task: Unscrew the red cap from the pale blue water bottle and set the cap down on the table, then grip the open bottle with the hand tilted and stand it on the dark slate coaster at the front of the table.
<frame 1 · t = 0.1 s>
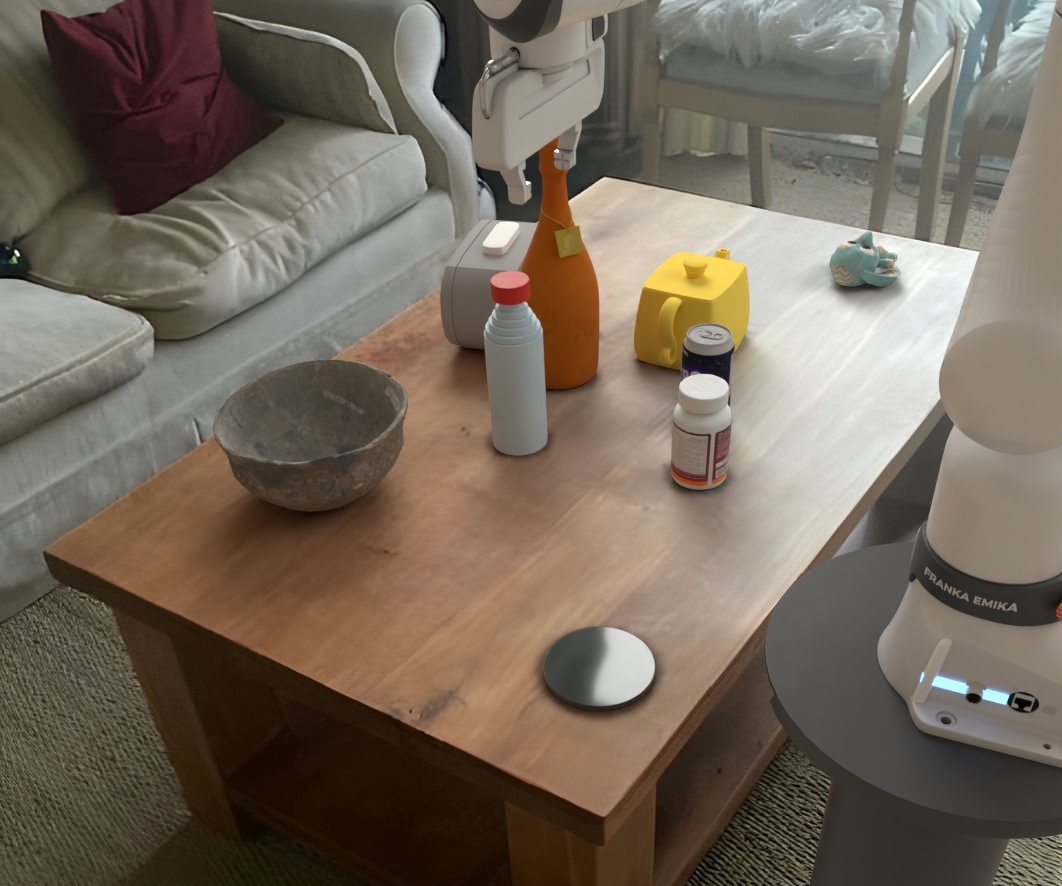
hand: (543, 184, 109), 29 cm above the table, tool pointing down, fingers open, 8 cm apart
wine bottle: (560, 374, 138), on the table
teapot: (694, 344, 143), on the table
pill bottle: (698, 477, 120), on the table
coaster: (599, 669, 99), on the table
beverage can: (703, 427, 128), on the table
bottle: (520, 440, 127), on the table
cap: (510, 282, 114), point 20 cm above the table, screwed on, not yet turned
bowl: (326, 485, 123), on the table
alarm clock: (503, 330, 148), on the table
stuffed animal: (862, 278, 154), on the table
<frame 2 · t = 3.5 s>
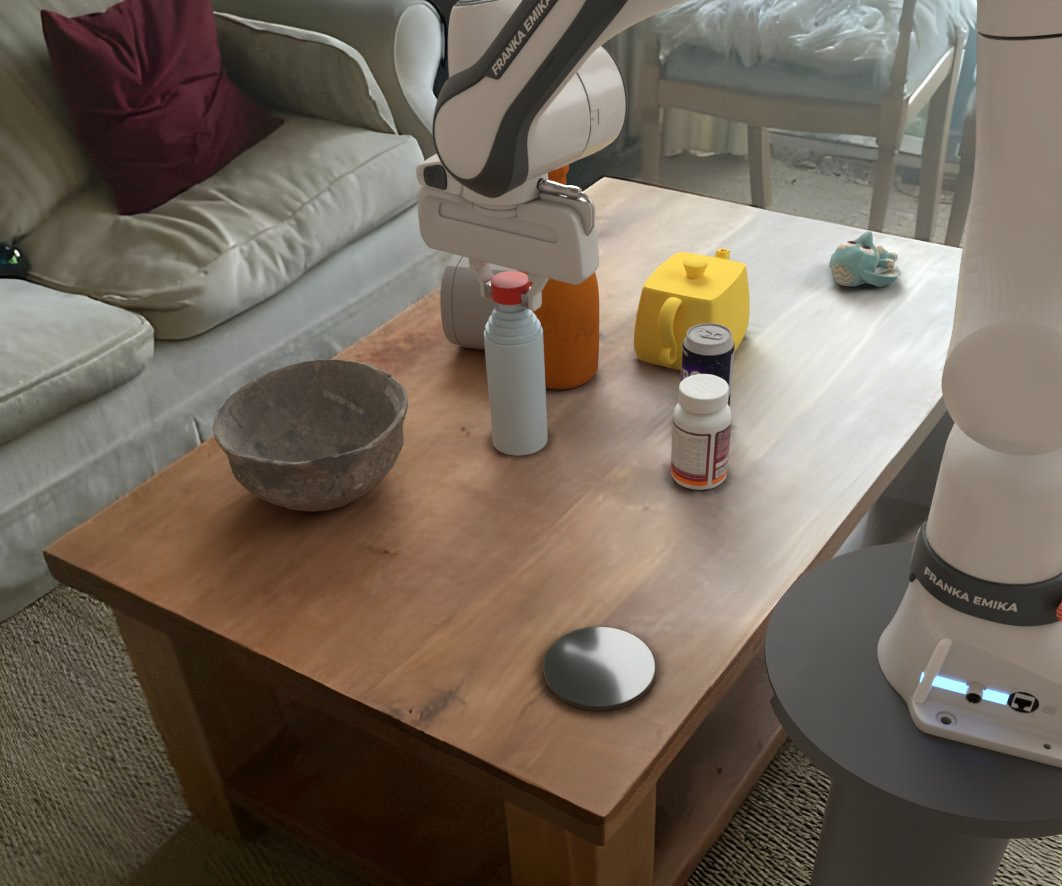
hand: (511, 301, 116), 17 cm above the table, tool pointing down, fingers closed on cap, 4 cm apart
cap: (510, 282, 114), point 20 cm above the table, screwed on, not yet turned, touching gripper
everything else where it was.
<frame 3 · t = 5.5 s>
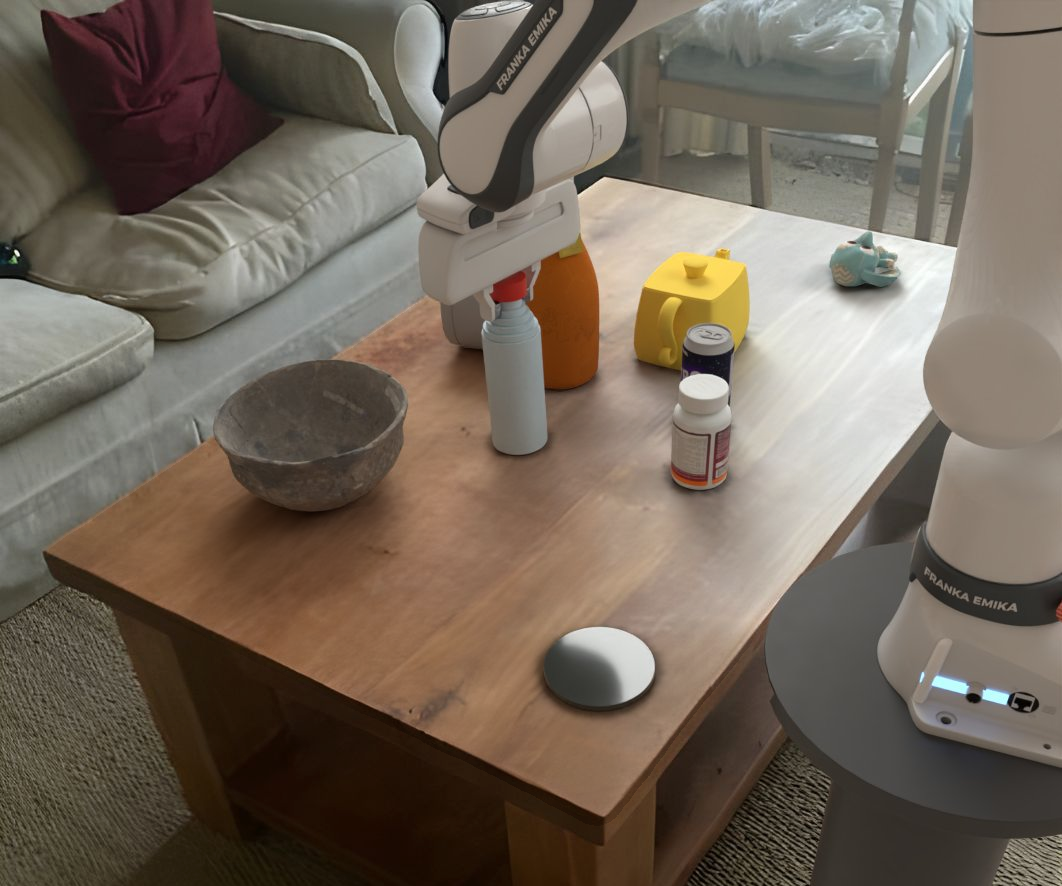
hand: (506, 309, 117), 16 cm above the table, tool pointing down, fingers closed on bottle, 3 cm apart
bottle: (520, 439, 127), on the table, touching gripper
cap: (506, 279, 114), point 20 cm above the table, turned 80° so far, risen 0.1 cm, still on its thread
everything else where it was.
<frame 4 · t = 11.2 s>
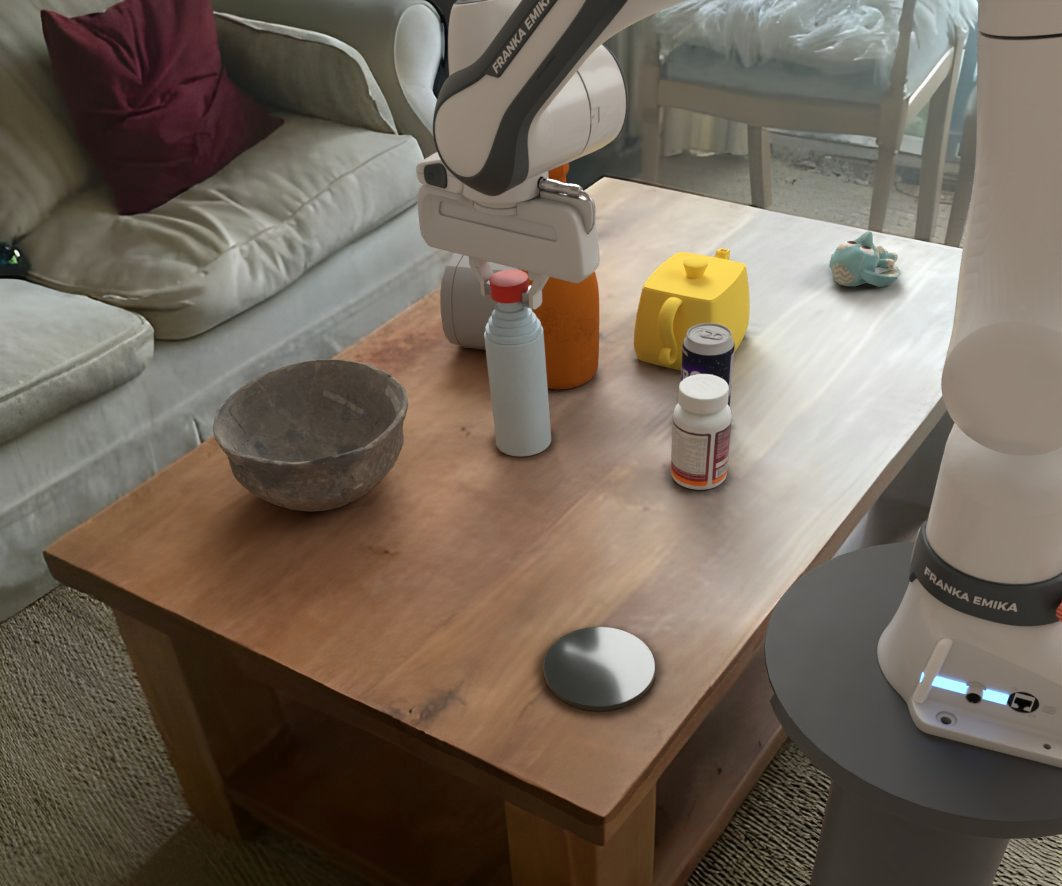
hand: (511, 300, 116), 18 cm above the table, tool pointing down, fingers closed on cap, 4 cm apart
bottle: (523, 441, 127), on the table
cap: (508, 280, 114), point 20 cm above the table, turned 160° so far, risen 0.2 cm, still on its thread, touching gripper
everything else where it was.
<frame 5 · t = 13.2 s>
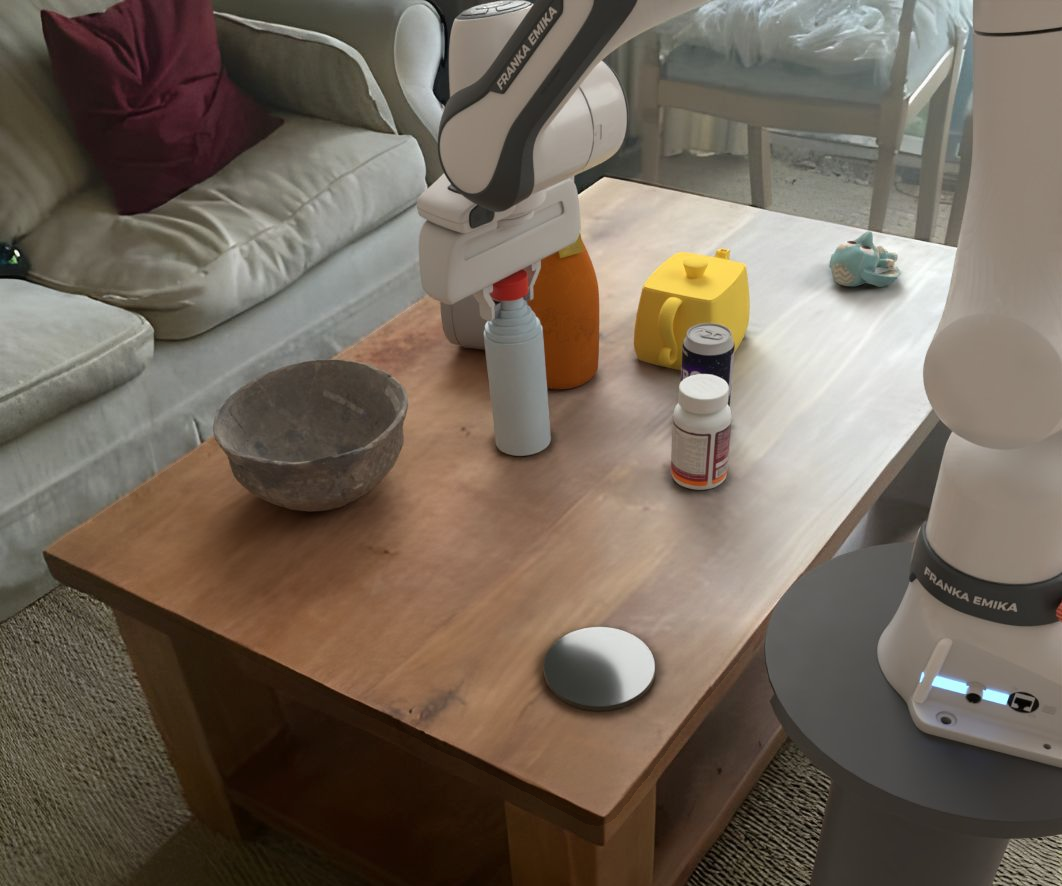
hand: (507, 309, 117), 16 cm above the table, tool pointing down, fingers closed on bottle, 4 cm apart
bottle: (523, 440, 127), on the table, touching gripper
cap: (508, 278, 114), point 20 cm above the table, turned 237° so far, risen 0.3 cm, still on its thread
everything else where it was.
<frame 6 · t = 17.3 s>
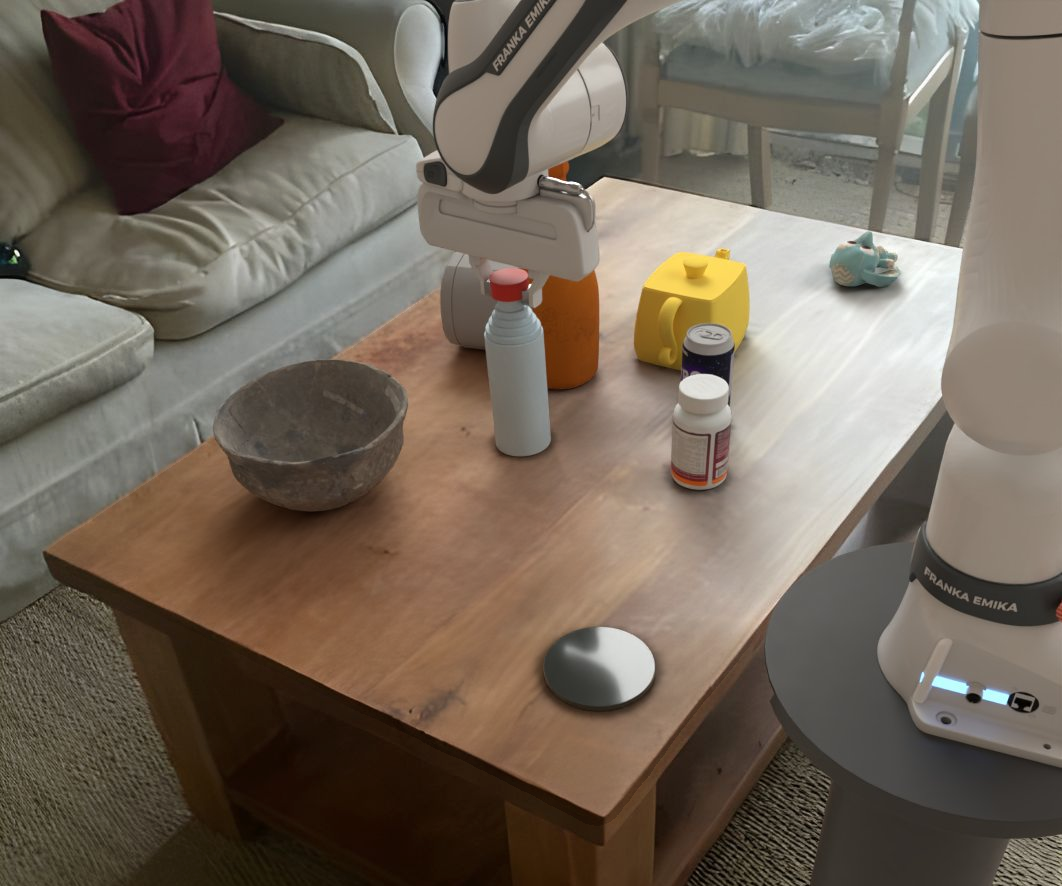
hand: (511, 299, 116), 18 cm above the table, tool pointing down, fingers closed on cap, 4 cm apart
bottle: (523, 441, 127), on the table
cap: (508, 279, 114), point 20 cm above the table, turned 317° so far, risen 0.3 cm, still on its thread, touching gripper
everything else where it was.
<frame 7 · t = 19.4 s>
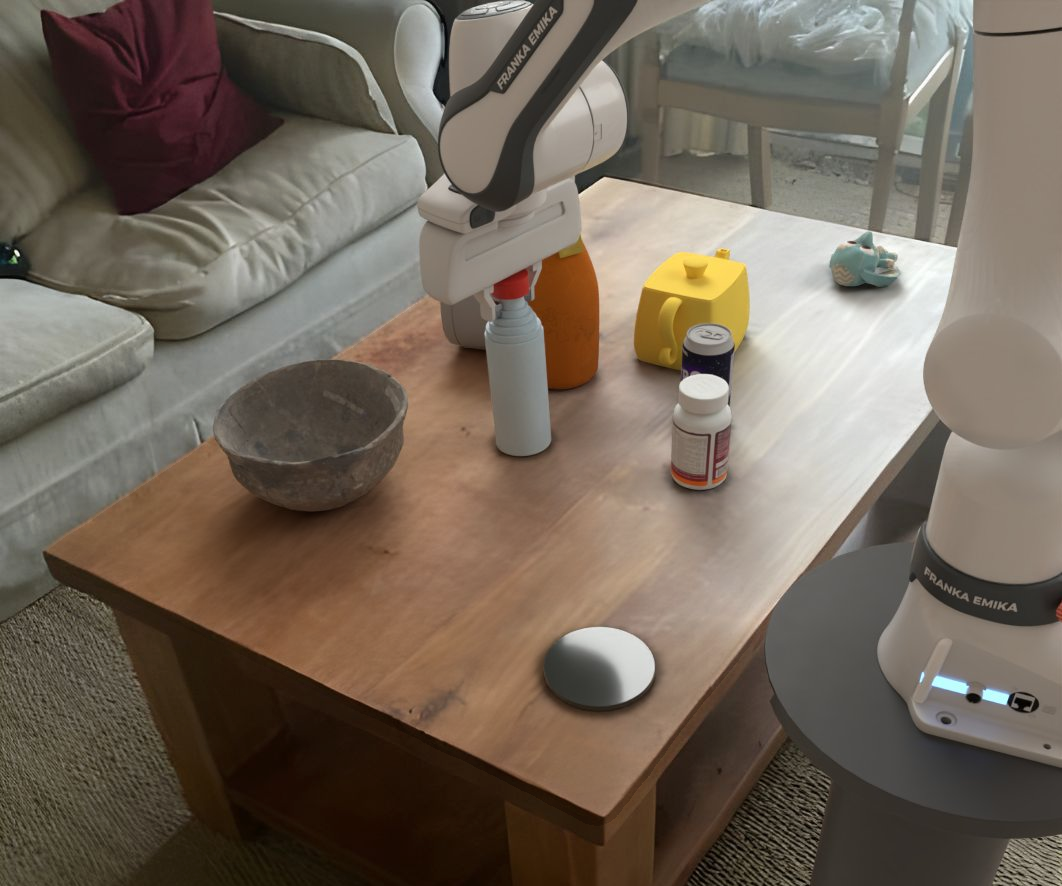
hand: (508, 309, 117), 16 cm above the table, tool pointing down, fingers closed on bottle, 4 cm apart
bottle: (523, 441, 127), on the table, touching gripper
cap: (509, 277, 114), point 20 cm above the table, turned 397° so far, risen 0.4 cm, still on its thread
everything else where it was.
when the fingers open (12 cm above the table, at t = 51.6 s): bottle stays where it is, resting on coaster.
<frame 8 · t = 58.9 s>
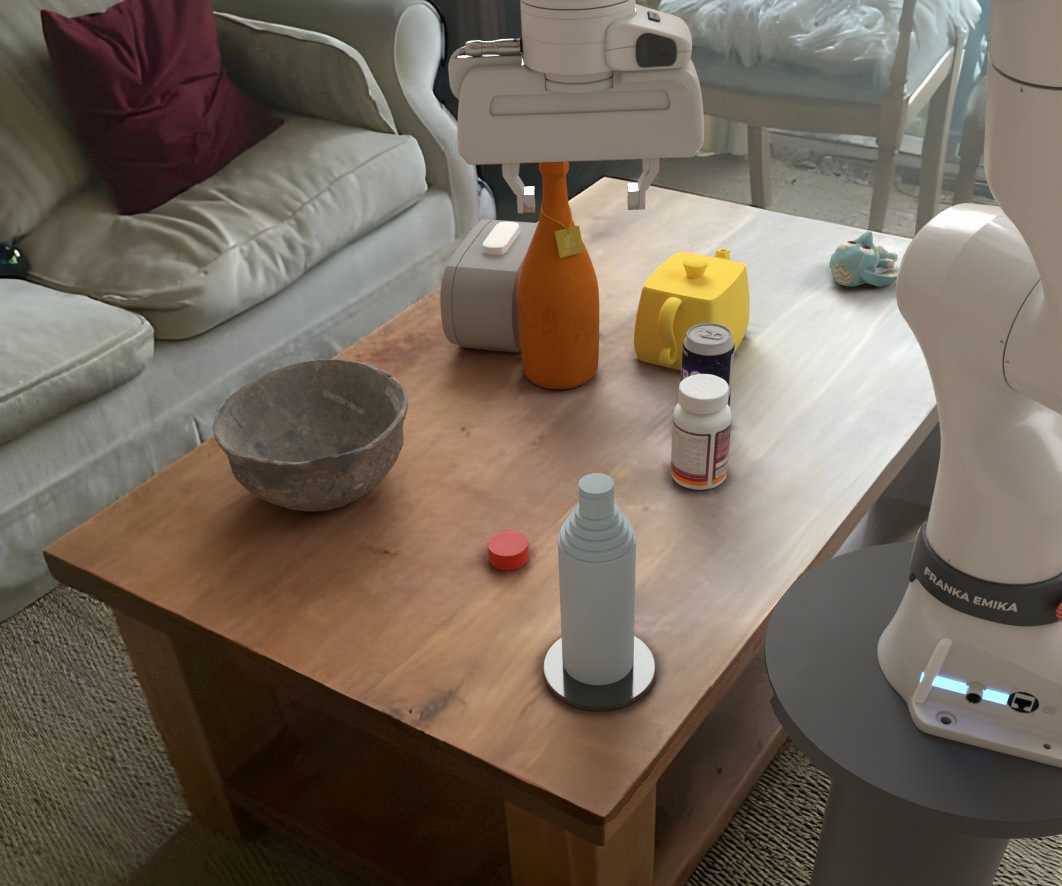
hand: (581, 209, 94), 33 cm above the table, tool pointing down, fingers open, 8 cm apart
bottle: (598, 659, 99), point 1 cm above the table, touching coaster
cap: (507, 545, 110), point 2 cm above the table, off its thread
everything else where it was.
at the end: cap came off its thread; cap point 1.6 cm above the table; bottle 0.6 cm off-centre on the coaster, point 0.6 cm above the coaster's base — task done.
